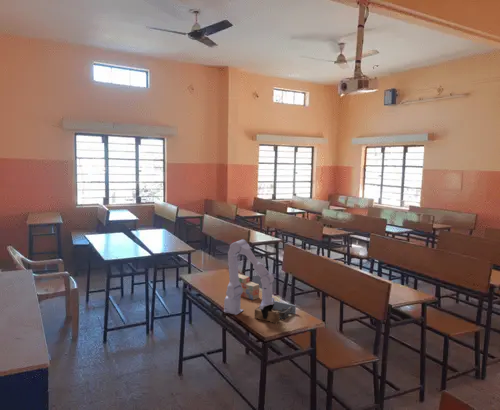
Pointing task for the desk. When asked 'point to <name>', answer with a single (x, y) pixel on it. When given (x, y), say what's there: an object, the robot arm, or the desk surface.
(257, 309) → the rail
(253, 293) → the stack of blocks
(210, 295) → the desk surface
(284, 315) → the cup bracket right
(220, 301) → the desk surface
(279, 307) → the backboard
